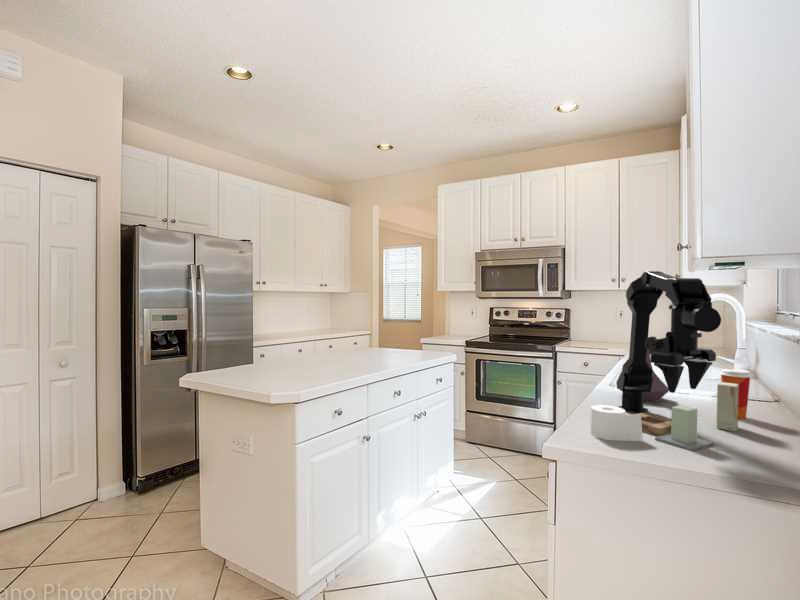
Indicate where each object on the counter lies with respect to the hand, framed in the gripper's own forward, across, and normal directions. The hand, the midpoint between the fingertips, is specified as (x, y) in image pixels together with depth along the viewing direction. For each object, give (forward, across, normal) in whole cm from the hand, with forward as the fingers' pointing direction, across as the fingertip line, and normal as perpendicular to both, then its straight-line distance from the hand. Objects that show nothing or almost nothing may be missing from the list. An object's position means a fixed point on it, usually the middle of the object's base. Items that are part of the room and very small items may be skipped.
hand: (682, 390), depth 112 cm
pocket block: (+13, -5, -11) cm, 17 cm away
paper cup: (+13, -39, -6) cm, 41 cm away
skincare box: (+13, -24, -1) cm, 27 cm away
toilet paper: (+13, +12, -10) cm, 20 cm away
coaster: (+13, 0, +1) cm, 13 cm away
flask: (+13, -36, -33) cm, 50 cm away
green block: (+12, 0, +1) cm, 12 cm away
